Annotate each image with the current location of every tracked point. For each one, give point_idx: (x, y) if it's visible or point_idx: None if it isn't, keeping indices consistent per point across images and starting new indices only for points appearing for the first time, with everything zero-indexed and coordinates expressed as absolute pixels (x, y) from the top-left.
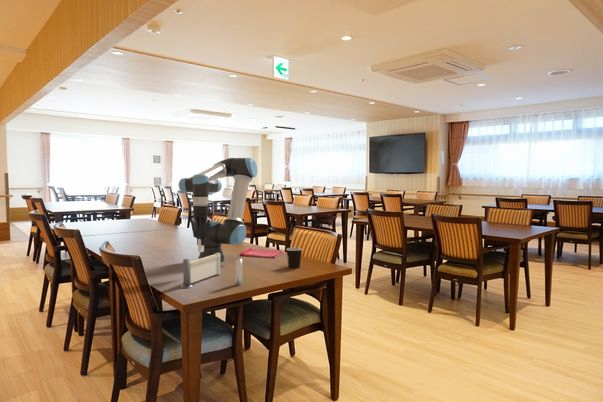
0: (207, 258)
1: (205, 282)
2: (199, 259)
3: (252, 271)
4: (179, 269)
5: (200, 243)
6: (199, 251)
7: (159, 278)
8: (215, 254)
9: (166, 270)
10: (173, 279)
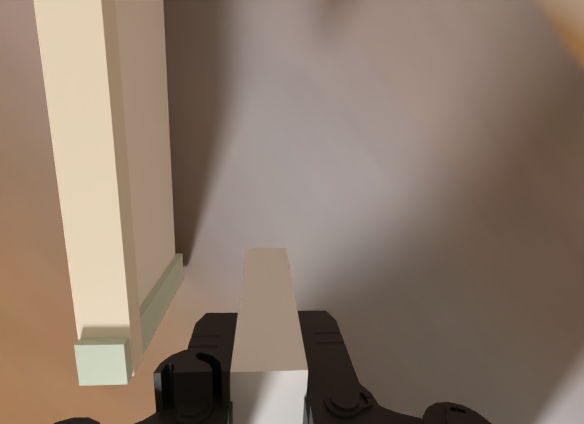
0: (56, 140)
1: None
2: (69, 7)
3: (30, 419)
4: (491, 268)
5: (239, 315)
6: (263, 251)
7: (484, 17)
8: (115, 335)
9: (556, 213)
10: (375, 35)
